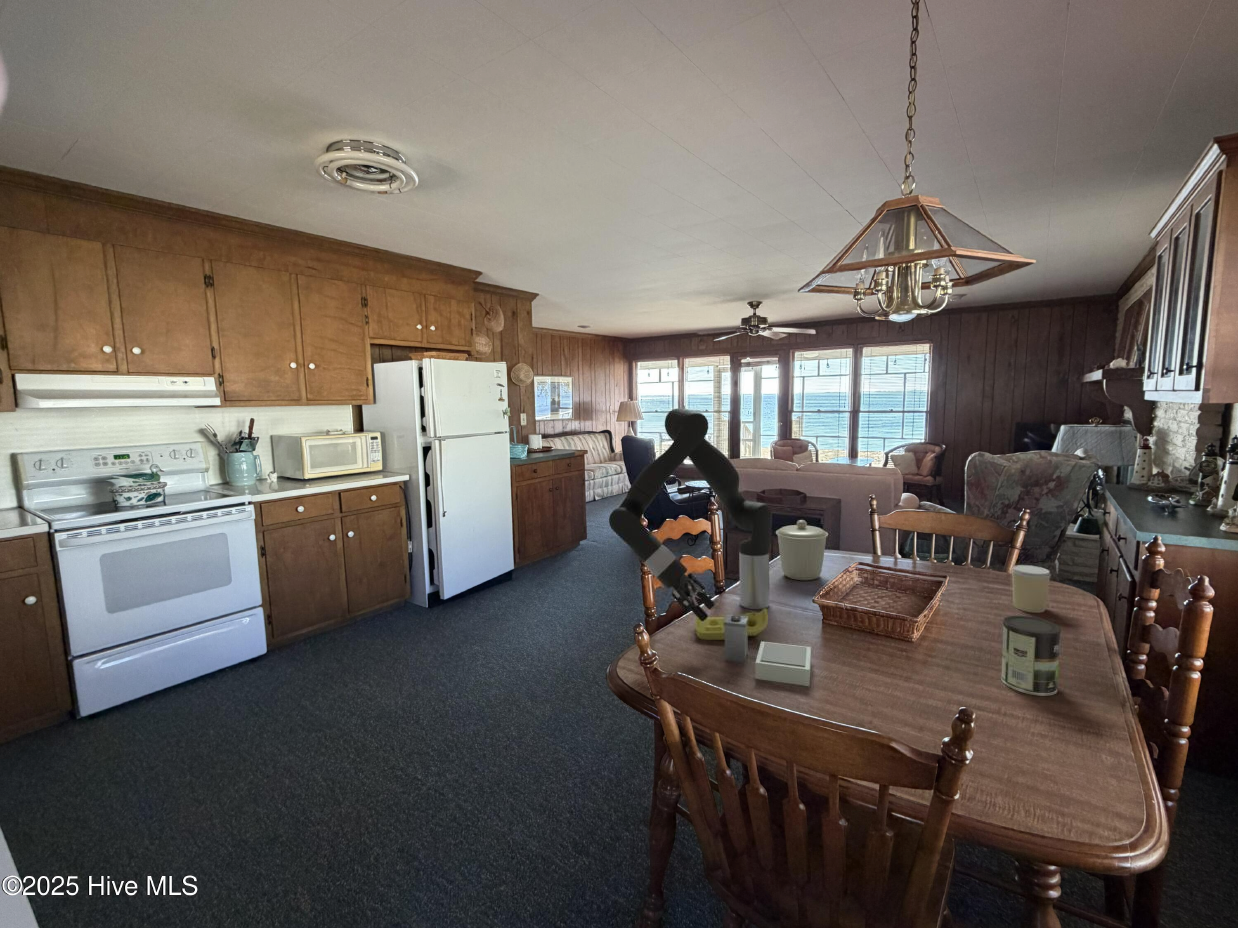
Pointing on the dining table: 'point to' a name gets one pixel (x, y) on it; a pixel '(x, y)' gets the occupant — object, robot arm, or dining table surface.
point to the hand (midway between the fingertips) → (709, 612)
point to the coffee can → (1030, 655)
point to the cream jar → (1030, 588)
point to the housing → (736, 638)
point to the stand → (784, 663)
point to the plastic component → (716, 628)
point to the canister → (801, 550)
